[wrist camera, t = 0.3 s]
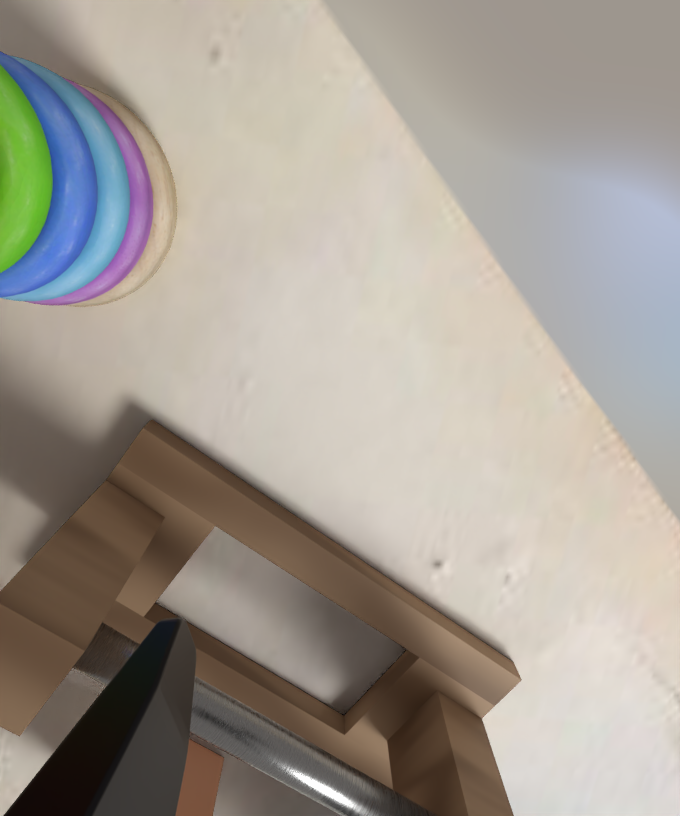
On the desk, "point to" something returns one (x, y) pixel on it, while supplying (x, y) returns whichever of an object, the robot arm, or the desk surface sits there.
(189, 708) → the robot arm
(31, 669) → the stand
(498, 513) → the desk surface
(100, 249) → the stacking toy
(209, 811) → the clip
